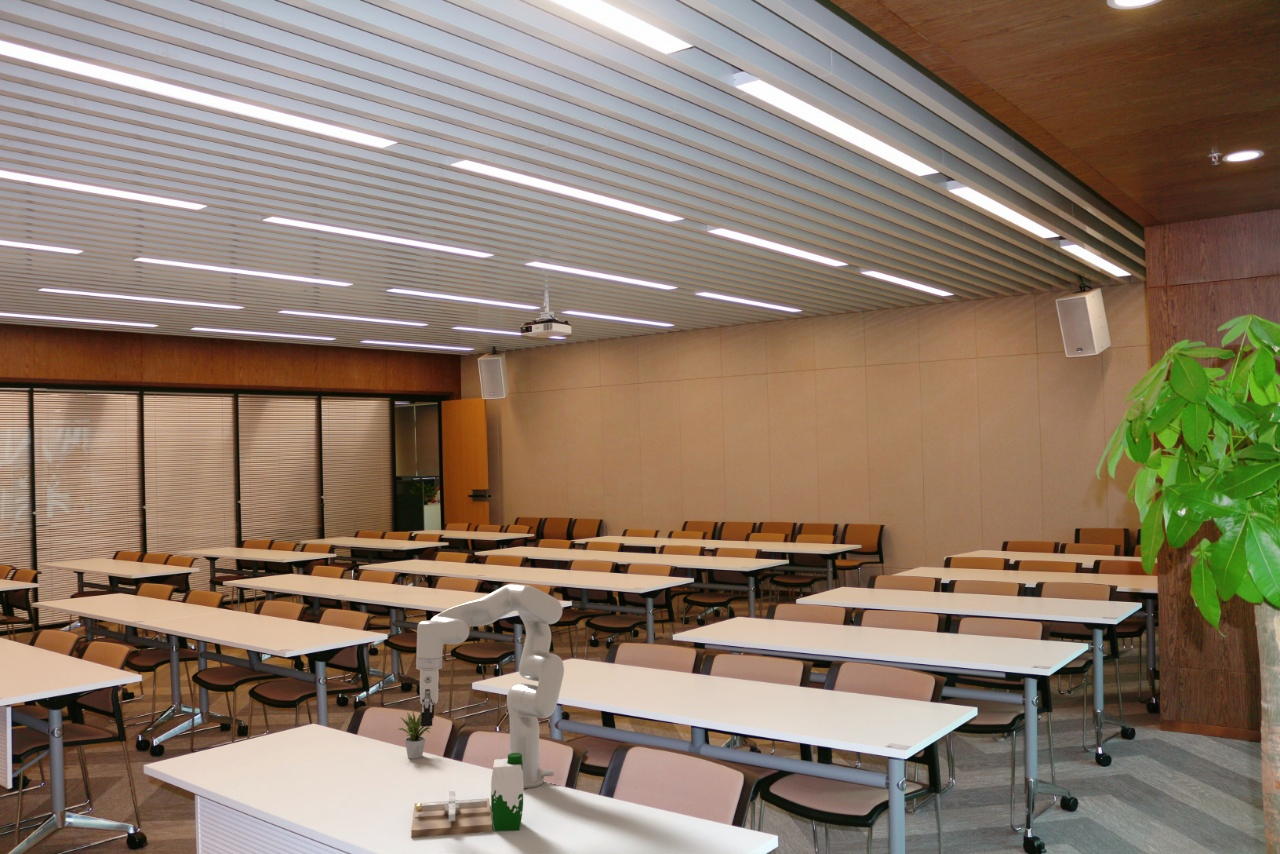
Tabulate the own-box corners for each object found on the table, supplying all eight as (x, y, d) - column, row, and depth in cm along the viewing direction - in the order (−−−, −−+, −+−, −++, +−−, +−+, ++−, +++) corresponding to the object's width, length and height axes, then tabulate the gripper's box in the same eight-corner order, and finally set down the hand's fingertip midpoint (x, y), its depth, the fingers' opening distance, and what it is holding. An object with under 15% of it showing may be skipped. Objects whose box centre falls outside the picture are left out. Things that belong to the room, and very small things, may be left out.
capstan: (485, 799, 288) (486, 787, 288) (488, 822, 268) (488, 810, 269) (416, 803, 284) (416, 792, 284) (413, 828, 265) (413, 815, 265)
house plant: (430, 763, 331) (430, 716, 332) (390, 763, 331) (391, 716, 332) (439, 751, 346) (439, 706, 346) (401, 751, 346) (401, 706, 347)
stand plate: (489, 805, 289) (489, 797, 289) (491, 831, 268) (491, 823, 268) (414, 810, 285) (414, 802, 285) (411, 837, 263) (411, 829, 263)
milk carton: (522, 831, 267) (522, 759, 268) (490, 833, 267) (490, 760, 268) (523, 820, 276) (523, 750, 277) (492, 821, 275) (492, 751, 276)
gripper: (441, 668, 275) (439, 728, 273) (443, 658, 292) (441, 715, 290) (414, 668, 273) (412, 729, 272) (418, 658, 290) (416, 715, 289)
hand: (427, 722), depth 281 cm, fingers open, 9 cm apart
